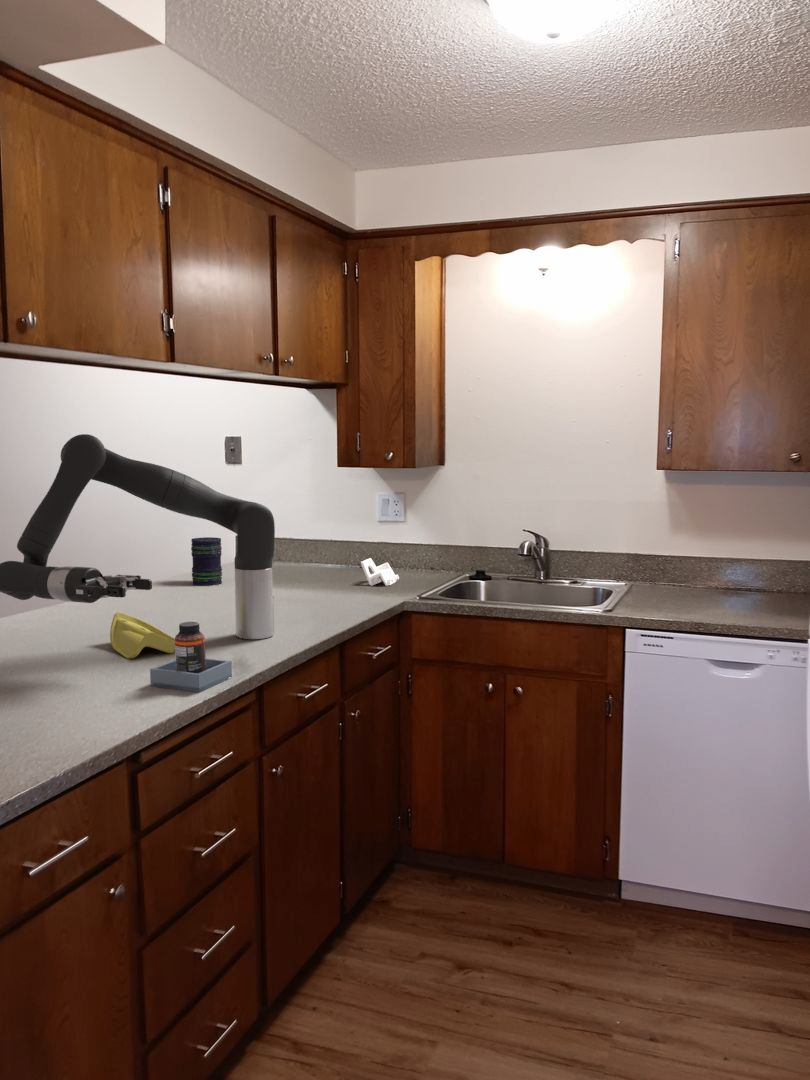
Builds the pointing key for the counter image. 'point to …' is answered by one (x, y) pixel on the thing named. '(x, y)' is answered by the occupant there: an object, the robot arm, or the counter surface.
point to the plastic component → (137, 636)
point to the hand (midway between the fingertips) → (138, 588)
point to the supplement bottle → (190, 648)
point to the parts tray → (190, 676)
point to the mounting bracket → (379, 573)
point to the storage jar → (206, 561)
